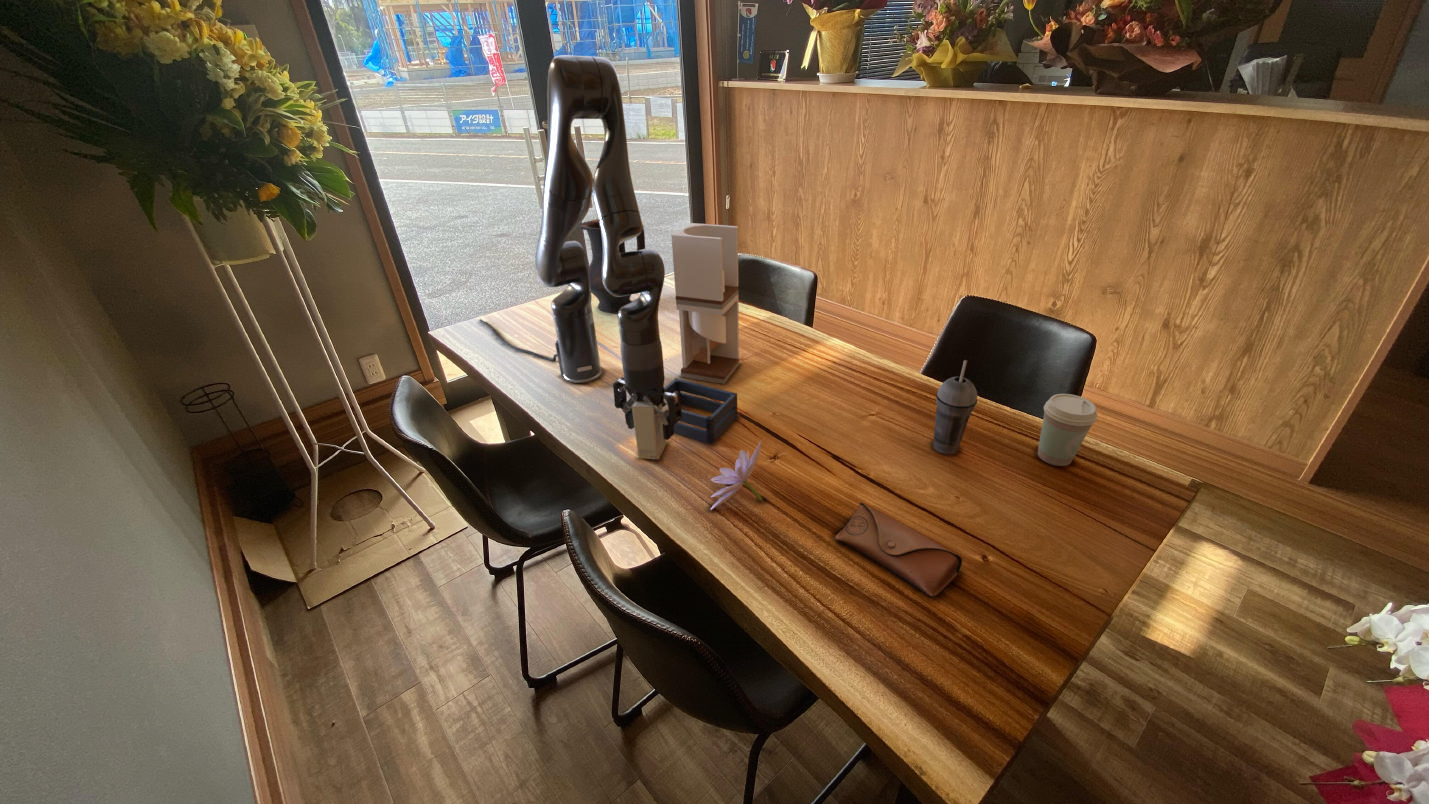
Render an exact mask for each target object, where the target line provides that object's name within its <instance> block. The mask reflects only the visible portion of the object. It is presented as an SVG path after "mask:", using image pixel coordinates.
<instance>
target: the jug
mask: <svg viewBox="0 0 1429 804" xmlns="http://www.w3.org/2000/svg"><path fill="white" fill-rule="evenodd" d="M577 228H578V229H580V230H583V231H586V233H587V236H588V238H589V241H590V249H591V254H592V255H591V256H592V257H591V258H592V259H591V261H590V263H589V265H588V267H589V277H590V288H591V295H593V296H594V297H595V298H596V299H597V301H598V304H597V309H598V310H599V311H601V312H603V313H608V314H609V313H610V314H611V313H612V314H616V313H617V314H618V312H619V310H620V308H621V307H623V306H624V305H626V304H628V303H631V302H633V301H632V300H631V297H632V295H626V296H621V297H616V296H613V295H611V294H610V293H609V292H608V291H607V290H606V288H605V287H604V285H603V281H602V252H603V250H602V235H601V229H600V224H599V220H598V218H595V219H591V220H588V221H582V222H581V223H580V224H579V226H578V227H577ZM635 238H636V247H637V248H636V251H637V250H642V249H646V237H645V228H644V224H643V223H642V232H641V233H640V234H639V235H638V236H637V237H635ZM623 252H627V250H626V241H625V242H623V243H621V244H620V245H619V253H623Z"/></svg>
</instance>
